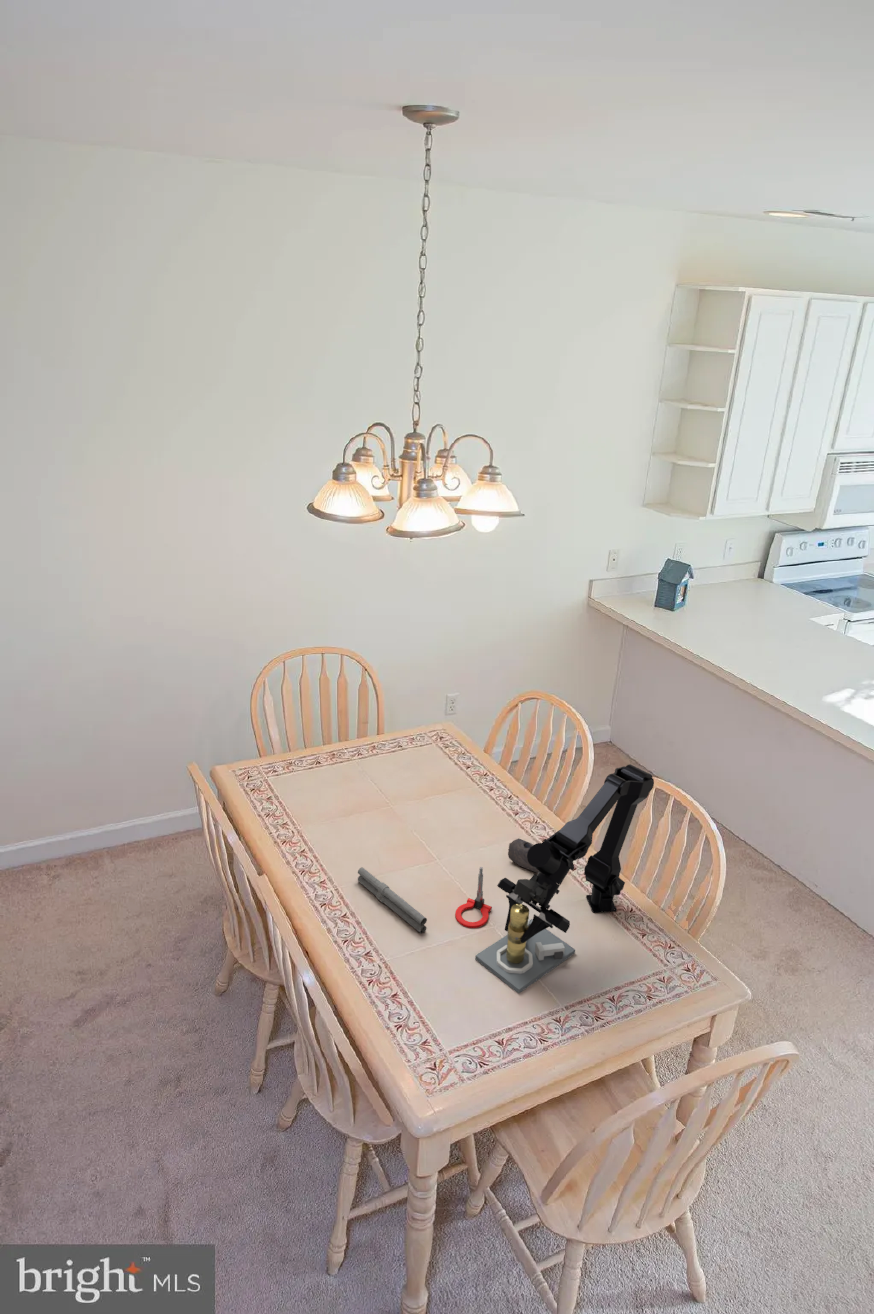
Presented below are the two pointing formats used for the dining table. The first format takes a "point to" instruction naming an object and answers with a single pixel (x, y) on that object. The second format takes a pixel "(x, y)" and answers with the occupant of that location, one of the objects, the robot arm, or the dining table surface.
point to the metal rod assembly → (392, 900)
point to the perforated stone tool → (520, 853)
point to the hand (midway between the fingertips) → (513, 936)
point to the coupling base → (526, 959)
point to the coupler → (517, 933)
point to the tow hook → (477, 903)
